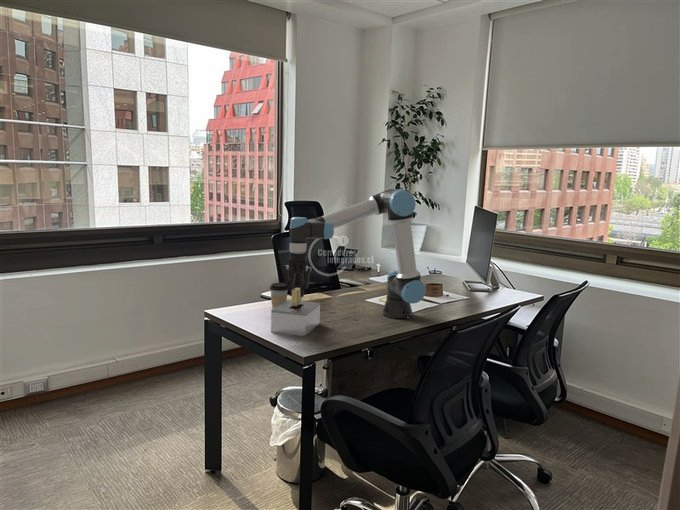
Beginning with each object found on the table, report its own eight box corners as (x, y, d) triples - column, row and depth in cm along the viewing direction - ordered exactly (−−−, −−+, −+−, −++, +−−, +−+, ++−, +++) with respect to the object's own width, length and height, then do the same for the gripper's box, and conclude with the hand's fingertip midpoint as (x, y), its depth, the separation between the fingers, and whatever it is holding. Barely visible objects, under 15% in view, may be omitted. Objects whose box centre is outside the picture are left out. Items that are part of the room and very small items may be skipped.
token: (301, 303, 226) (301, 288, 225) (296, 306, 220) (297, 290, 219) (296, 302, 227) (296, 287, 226) (291, 305, 221) (291, 290, 220)
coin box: (319, 323, 233) (320, 303, 231) (305, 336, 214) (305, 313, 212) (287, 319, 237) (288, 299, 235) (271, 331, 218) (271, 309, 216)
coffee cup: (279, 310, 253) (279, 281, 251) (292, 314, 247) (292, 284, 245) (265, 313, 246) (265, 284, 244) (278, 317, 240) (279, 287, 238)
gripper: (317, 252, 221) (315, 303, 225) (284, 249, 225) (283, 299, 229) (311, 254, 214) (310, 307, 218) (278, 251, 218) (277, 303, 222)
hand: (296, 303), depth 223 cm, fingers closed on token, 2 cm apart
